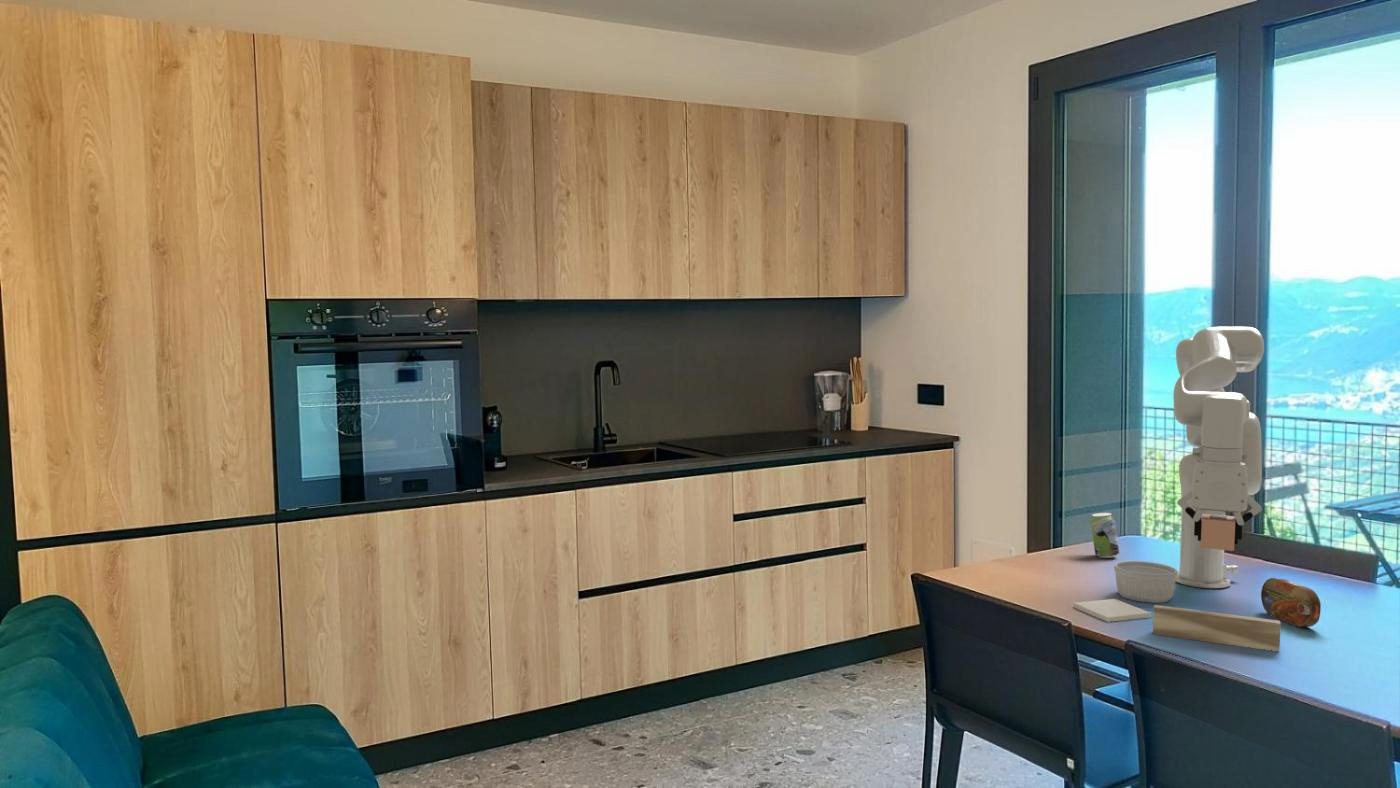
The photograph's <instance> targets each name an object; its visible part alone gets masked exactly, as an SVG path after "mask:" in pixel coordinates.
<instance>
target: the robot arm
mask: <svg viewBox="0 0 1400 788" xmlns="http://www.w3.org/2000/svg"><path fill="white" fill-rule="evenodd" d="M1264 352H1265V340H1264V337H1263V335H1262V334H1261V332H1260V331H1259V330H1258V329H1257V328H1254V327H1251V326H1211V327H1205V328H1202V329H1201V330H1199V331H1197V332H1196V333H1195V334H1194V336H1193V337H1189V338H1184V339H1182V340H1181V341H1179V342H1178V344H1177V346H1176V349H1175V359H1176V366H1177V371H1178V374H1179V378H1177V380H1176V382H1175V385H1174V389H1173V394H1172V395H1173V396H1172V397H1173V399H1172V400H1173V413H1174V417H1175V420H1176V421H1177V422H1178V423H1180V424H1181V425H1182V426H1183V425H1184V426H1185V428H1186V429H1185V431H1186V432H1185V433H1186V439H1187V442H1188V444H1189V445H1190V446H1192V447H1194V448H1192V453H1190V454H1186V455H1185V456H1183V457H1182V458H1181V459H1180V461H1179V464H1178V475H1179V483H1180V492H1181V497H1180V498H1179V499H1177V505H1178V506H1179V507H1180V509H1181V511H1180V512H1181V514H1180V517H1181V518H1180V519H1181V521H1180V543H1179V545H1180V547H1179V571H1178V570H1177V577H1176V580H1175V583H1178V584H1181V585H1183V586H1184V585H1185V586H1188V587H1195V588H1201V589H1202V588H1203V589H1224V588H1228V587H1229V586H1230V585H1231V580H1230V578H1228V577H1227V575H1229V574H1237V573H1239V571H1240V569H1239V566H1238V565H1236V564H1232V565H1231V564H1230V565H1227V564H1226V563H1224V561H1225V550H1219V549H1209V548H1201V529H1202V514H1212V515H1224V516H1227V515H1226V513H1227V512H1228V513H1233V516H1235V540H1234V545H1239V544H1238V542H1239V541H1243V540H1242V538H1243V526H1244V525H1245V523H1247V522H1249V521H1250V520H1251V519H1252V518H1253V517H1255V516H1257V514H1259V513H1261V512H1262V511H1263V508H1262V506H1261V505H1260V503H1258V502H1257V500H1255V499H1254V498H1253V497H1252V496H1253V495H1255V494H1258V492H1259V491H1260V490H1261V486H1262V481H1263V475H1262V474H1263V468H1262V467H1263V464H1262V463H1263V461H1262V458H1263V457H1262V455H1263V454H1262V428H1261V423H1260V419H1259V417H1258V416H1257V415H1256V414H1255V413H1254V412H1251V407H1250V406H1251V403H1250V401H1249V400H1248V399H1247V397H1246V396H1245V395H1243V393H1239V392H1235V391H1234V392H1233V391H1228V392H1227V391H1225V387H1227V386H1229V385H1230V384H1231V383H1233V381H1234V380H1235V379H1236V376H1237V373H1249V372H1252V371H1254V370H1255V369H1256V368H1257V366H1258V365H1259V364H1260V363H1261V362H1262V360H1263V358H1264ZM1248 505H1249V506H1250V507H1251V508H1250V510H1248V511H1246V510H1247V509H1248ZM1245 511H1246V512H1245ZM1242 513H1243V514H1242Z"/></svg>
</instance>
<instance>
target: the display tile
mask: <svg viewBox="0 0 1400 788" xmlns="http://www.w3.org/2000/svg"><path fill="white" fill-rule="evenodd" d="M1073 608H1075V609H1077V610H1079V611H1081V612H1084V613H1086V614H1088V615H1091V616H1093V617H1094V618H1098V619H1100V620H1102V621H1104V622H1107V623H1112V622H1120V621H1121V622H1122V621H1129V620H1139V619H1147V618H1149V619H1150V618H1152V616H1151V615H1152V614H1151V613H1152V612H1150V611H1148V610H1145V609H1142V608H1140V607H1137V606H1134V605H1132V604H1129V603H1127V602H1125V601H1122V600H1119V599H1116V598H1108V599H1098V600H1087V601H1080V602H1079V601H1077V602H1073ZM1111 621H1112V622H1111Z"/></svg>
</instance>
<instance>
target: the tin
mask: <svg viewBox="0 0 1400 788" xmlns="http://www.w3.org/2000/svg"><path fill="white" fill-rule="evenodd" d="M1260 598H1261V604H1262V606H1263V609H1264V610H1265V612H1266V613H1267V614H1268V615H1269V616H1270V615H1272V616H1273V618H1275V617H1276V618H1275V619H1277V618H1278V619H1277V620H1279V619H1280V620H1279V621H1282V620H1283V621H1282V622H1284V621H1285V623H1286V622H1288V623H1287V624H1289V623H1290V624H1289V625H1291V624H1293V625H1295V626H1294V627H1296V626H1297V627H1296V628H1309V627H1313V626H1315V625H1317V623H1318V622H1319V620H1320V616H1321V609H1322V608H1321V606H1322V605H1321V601H1320V598H1319V596H1318V594H1317V593H1316V592H1315V590H1313V589H1311V588H1309V587H1308V586H1305V585H1301V584H1298V583H1295V582H1293V581H1290V580H1288V579H1286V578H1276V577H1270V578H1268V579H1267V580H1265V581H1264V583H1263V585H1262V588H1261V591H1260ZM1272 616H1271V617H1272ZM1293 625H1292V626H1293Z"/></svg>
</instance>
